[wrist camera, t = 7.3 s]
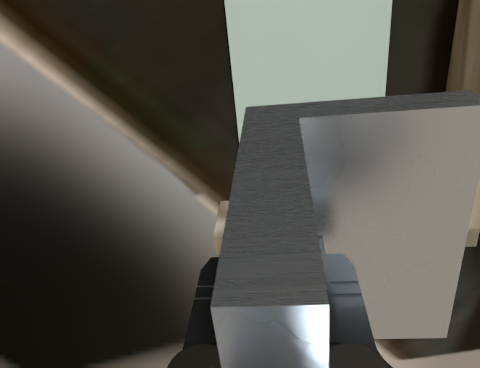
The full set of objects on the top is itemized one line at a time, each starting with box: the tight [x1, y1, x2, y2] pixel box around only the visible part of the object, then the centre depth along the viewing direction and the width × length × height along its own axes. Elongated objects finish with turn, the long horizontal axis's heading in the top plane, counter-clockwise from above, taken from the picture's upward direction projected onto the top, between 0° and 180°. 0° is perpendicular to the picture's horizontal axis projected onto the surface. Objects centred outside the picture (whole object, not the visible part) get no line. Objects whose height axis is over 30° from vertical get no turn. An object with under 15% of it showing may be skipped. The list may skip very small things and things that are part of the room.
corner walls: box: [213, 0, 480, 255], centre depth 26 cm, size 17×18×5 cm
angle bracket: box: [210, 90, 480, 368], centre depth 10 cm, size 8×6×8 cm
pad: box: [224, 0, 392, 143], centre depth 27 cm, size 10×12×1 cm
